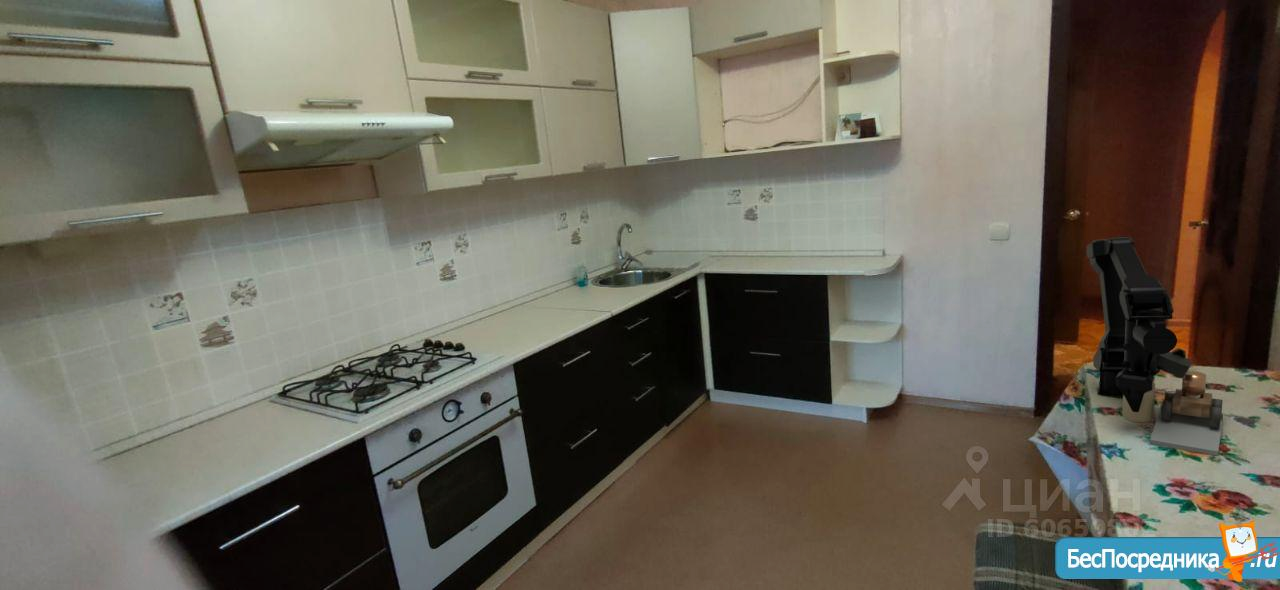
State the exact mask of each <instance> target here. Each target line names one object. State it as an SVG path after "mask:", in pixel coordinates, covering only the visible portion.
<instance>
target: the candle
mask: <svg viewBox="0 0 1280 590" xmlns="http://www.w3.org/2000/svg"><path fill="white" fill-rule="evenodd" d="M1155 392H1156V383H1155V382H1154V387H1153V389H1152V390H1151V391H1148V392H1146V393H1144V396H1143V399H1142V403H1141V406H1140V409H1139V412H1133V411H1132V410H1131V408H1130V406H1129V404H1128V402H1127V400H1126V398H1125V396H1124V395H1123V398H1122V417H1123V419H1125V420H1126V421H1127V420H1128V421H1130V422H1134V423H1139V424H1141V423H1142V424H1148V423H1150V422H1153V421H1154V416H1155V415H1154V411H1155V396H1156V395H1155V394H1156V393H1155Z"/></svg>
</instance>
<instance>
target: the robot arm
mask: <svg viewBox="0 0 1280 590" xmlns="http://www.w3.org/2000/svg"><path fill="white" fill-rule="evenodd" d="M1085 249H1086V250H1085V251H1086V256H1087V257H1086V258H1087V259H1089V264H1090V267H1091V268H1092V269H1093V270H1094V271H1095V272H1096V273H1097V275H1098V276H1099V284H1100V291H1101V292H1100V293H1101V300H1102V309H1103V310H1102V311H1103V319H1104V329H1105V330H1104V331H1105V333H1104V334H1103V336H1102V337H1101V339H1100V340H1099V342H1098V348H1097V350H1096V351H1095V353H1094V356H1092V360H1093V361H1092V362H1093V367H1094V368H1095V369H1096V370H1097V371H1098V373H1099V381H1098V382H1099V387H1098V391H1097V395H1101V396H1108V397H1116V398H1122V399H1123V395H1124V396H1125V398H1126V400H1127V402H1128V404H1129V406H1130V408H1131V410H1132V411H1133V412H1139V409H1140V406H1141V403H1142V399H1143V396H1144V393H1146V392H1148V391H1151V390H1152V389H1153V387H1154V383H1155V376H1156V375H1157V374H1159V373H1160V371H1162V372H1165V373H1168V374H1169V375H1173V376H1174V377H1175V378H1178V379H1182V378H1184V376H1185V374H1186V373H1187V371H1189V369H1190V368H1191V365H1192V362H1193V361H1192V360H1191V358H1189V357H1188V358H1187V352H1186V351H1187V350H1185V349H1183V348H1178V347H1177V348H1176V346H1177V344H1178V337H1177V335H1176V334H1175V332H1174V331H1172V330H1171V329H1170V328H1168V327H1167V322H1166V321H1165V320H1173V319H1174V318H1173V313H1174V311H1175V310H1174V307H1173V304H1172V300H1171V298H1170V294H1169V293H1168V291H1167V290H1166V288H1164V286H1163V285H1162V283H1161V282H1160V280H1159V279H1157V278H1155V277H1153V276H1151V275H1149V274H1148V273H1147V271H1146V269H1145V267H1144V265H1143V263H1142V262H1141V259H1140V256H1139V254H1138V253H1137V250H1136V248H1135V241H1134V239H1133V238H1132V237H1128V236H1126V237H1123V236H1122V237H1109V238H1105V239H1104V238H1103V239H1093V240H1091V242H1090V243H1088V244H1087V245H1086V248H1085ZM1161 309H1162V310H1161Z"/></svg>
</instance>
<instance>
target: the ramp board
mask: <svg viewBox="0 0 1280 590" xmlns="http://www.w3.org/2000/svg"><path fill="white" fill-rule="evenodd" d="M1161 409H1162V404H1160V407H1159V411H1158V412H1159V413H1158V416H1157V419H1156V421H1155V424H1154V427H1153V429H1152V433H1151V436H1150V439H1149V445H1152V446H1157V447H1165V448H1170V449H1175V450H1176V449H1177V450H1181V451H1188V452H1193V453H1196V454H1197V453H1199V454H1205V455H1211V456H1216V457H1219V452H1220V451H1219V450H1220V444H1221V438H1222V431H1223V425H1224V424H1223V423H1224V413H1223V412H1222V414H1221V420H1220V429H1217V428H1210V427H1209V419H1208V418H1201V417H1194V416H1187V415H1181V414H1174V413H1172V420H1171V421H1165V420H1161Z"/></svg>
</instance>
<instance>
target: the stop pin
mask: <svg viewBox="0 0 1280 590" xmlns="http://www.w3.org/2000/svg"><path fill="white" fill-rule="evenodd" d="M1181 379H1182V381H1181V382H1182V383H1181V390H1182V392H1184V393H1186V397H1194V398H1200V395H1202V394H1205V393H1206V383H1207V382H1206V381H1207V375H1206V373H1204V372H1200V371H1195V370H1194V371H1191V370H1190V371H1189V370H1188V371H1187V373H1186V374H1185V376H1184V378H1181Z"/></svg>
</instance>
